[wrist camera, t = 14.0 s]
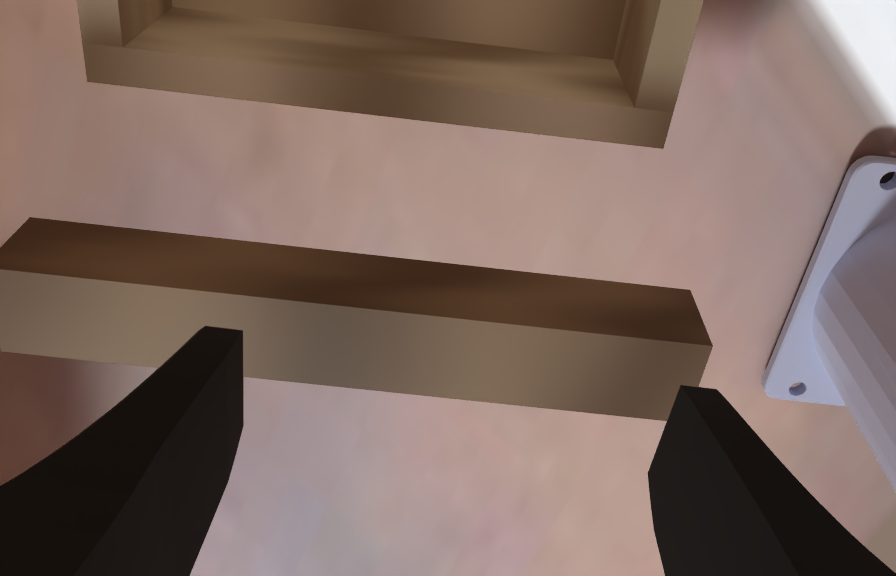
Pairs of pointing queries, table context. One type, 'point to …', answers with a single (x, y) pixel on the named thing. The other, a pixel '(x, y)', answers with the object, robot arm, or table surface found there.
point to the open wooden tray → (413, 58)
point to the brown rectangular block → (352, 318)
